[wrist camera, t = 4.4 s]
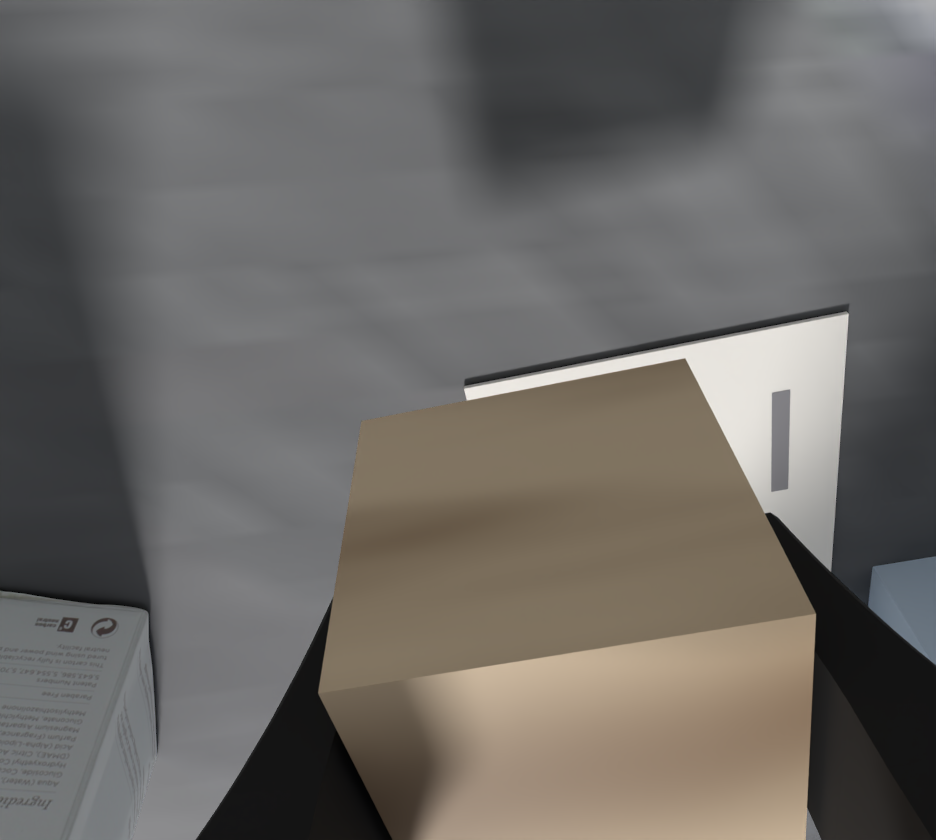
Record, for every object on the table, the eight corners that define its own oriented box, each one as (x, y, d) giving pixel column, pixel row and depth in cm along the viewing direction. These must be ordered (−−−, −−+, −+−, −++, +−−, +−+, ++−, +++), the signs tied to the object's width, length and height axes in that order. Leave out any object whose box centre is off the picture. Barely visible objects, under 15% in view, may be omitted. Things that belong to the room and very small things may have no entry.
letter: (824, 646, 25) (826, 650, 25) (542, 690, 26) (542, 694, 26) (846, 311, 18) (849, 314, 18) (463, 386, 19) (464, 389, 19)
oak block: (701, 589, 14) (803, 870, 10) (436, 633, 15) (433, 919, 11) (685, 358, 12) (815, 614, 8) (361, 420, 12) (317, 694, 8)
